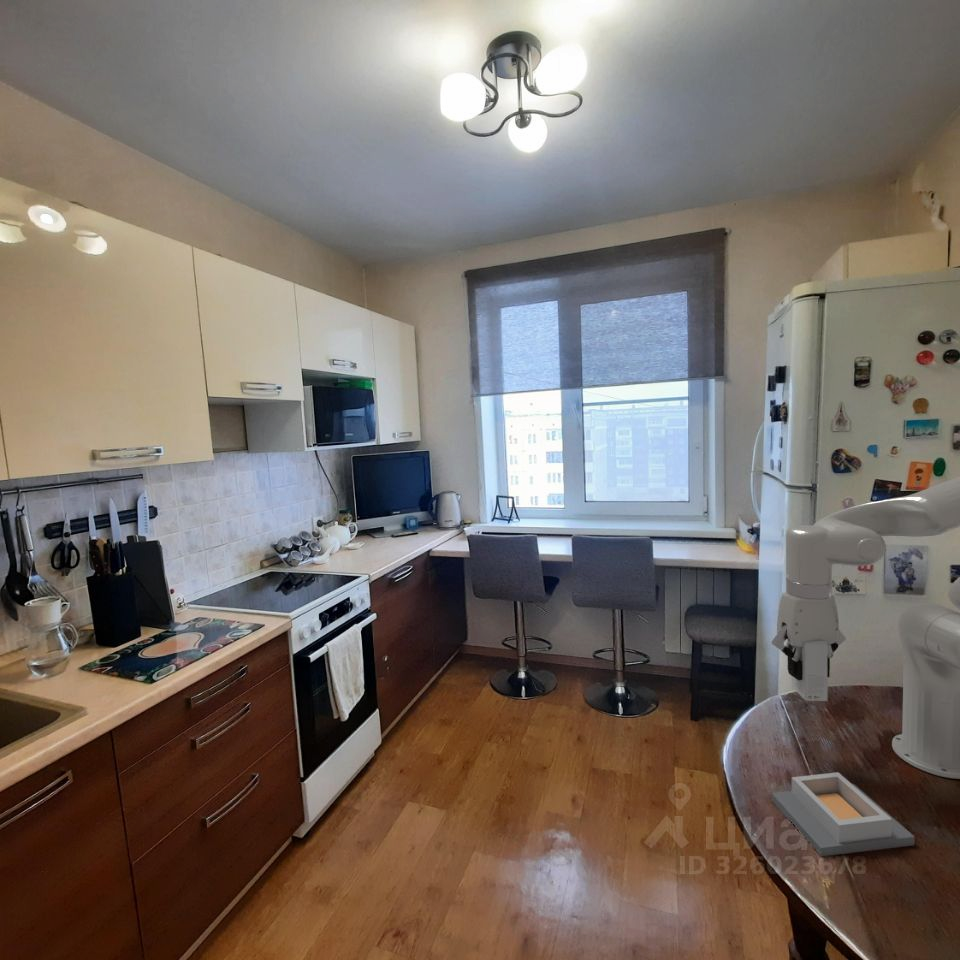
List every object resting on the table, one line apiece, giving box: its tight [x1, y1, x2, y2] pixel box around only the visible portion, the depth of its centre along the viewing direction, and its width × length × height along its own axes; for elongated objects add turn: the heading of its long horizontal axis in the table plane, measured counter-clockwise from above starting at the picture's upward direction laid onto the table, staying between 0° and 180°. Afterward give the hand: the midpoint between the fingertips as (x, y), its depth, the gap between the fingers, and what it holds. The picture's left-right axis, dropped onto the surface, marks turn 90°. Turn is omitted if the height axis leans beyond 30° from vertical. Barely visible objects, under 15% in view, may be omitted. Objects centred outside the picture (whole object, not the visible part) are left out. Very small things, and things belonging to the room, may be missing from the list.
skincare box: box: [790, 641, 829, 702], centre depth 98 cm, size 6×4×12 cm
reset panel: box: [771, 771, 915, 857], centre depth 85 cm, size 16×12×5 cm
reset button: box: [816, 793, 862, 820], centre depth 85 cm, size 6×8×2 cm
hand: (808, 674), depth 98 cm, fingers closed on skincare box, 5 cm apart
